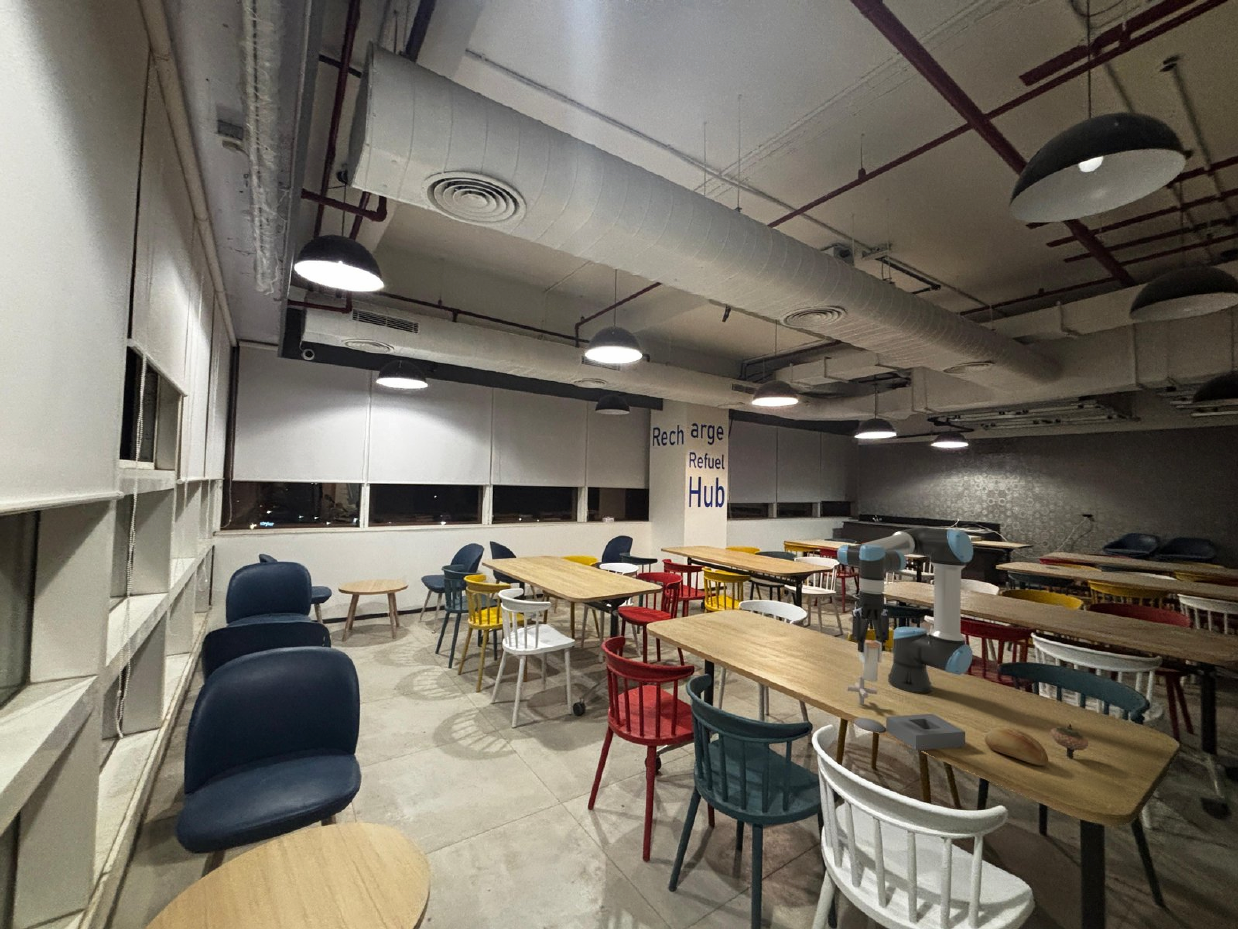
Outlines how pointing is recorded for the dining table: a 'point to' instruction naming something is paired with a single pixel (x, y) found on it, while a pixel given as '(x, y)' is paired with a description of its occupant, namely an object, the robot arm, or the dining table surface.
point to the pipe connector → (861, 690)
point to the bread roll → (1016, 745)
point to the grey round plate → (869, 724)
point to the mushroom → (871, 661)
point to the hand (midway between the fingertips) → (870, 661)
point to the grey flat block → (925, 731)
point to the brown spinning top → (1069, 739)
